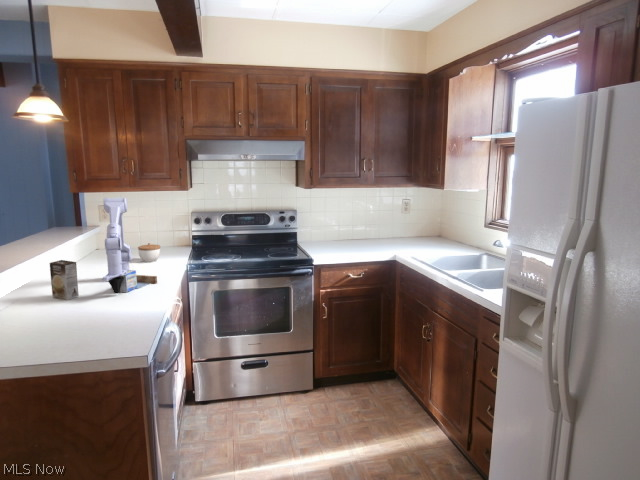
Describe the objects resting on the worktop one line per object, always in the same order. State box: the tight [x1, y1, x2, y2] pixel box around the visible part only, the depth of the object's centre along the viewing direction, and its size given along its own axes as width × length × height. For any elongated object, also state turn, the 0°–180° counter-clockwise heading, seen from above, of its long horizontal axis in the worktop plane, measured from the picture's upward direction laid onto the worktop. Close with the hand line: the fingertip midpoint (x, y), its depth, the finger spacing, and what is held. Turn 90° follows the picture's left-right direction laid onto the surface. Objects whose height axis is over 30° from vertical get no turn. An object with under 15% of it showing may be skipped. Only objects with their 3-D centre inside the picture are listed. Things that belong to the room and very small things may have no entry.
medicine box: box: [120, 269, 137, 293], centre depth 204 cm, size 8×4×9 cm, turn 168°
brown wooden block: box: [136, 274, 158, 285], centre depth 211 cm, size 13×14×4 cm
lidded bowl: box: [137, 242, 161, 263], centre depth 264 cm, size 13×13×11 cm
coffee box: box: [49, 259, 80, 301], centre depth 191 cm, size 9×6×16 cm
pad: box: [135, 282, 151, 290], centre depth 212 cm, size 7×11×1 cm, turn 170°
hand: (116, 293), depth 196 cm, fingers closed
